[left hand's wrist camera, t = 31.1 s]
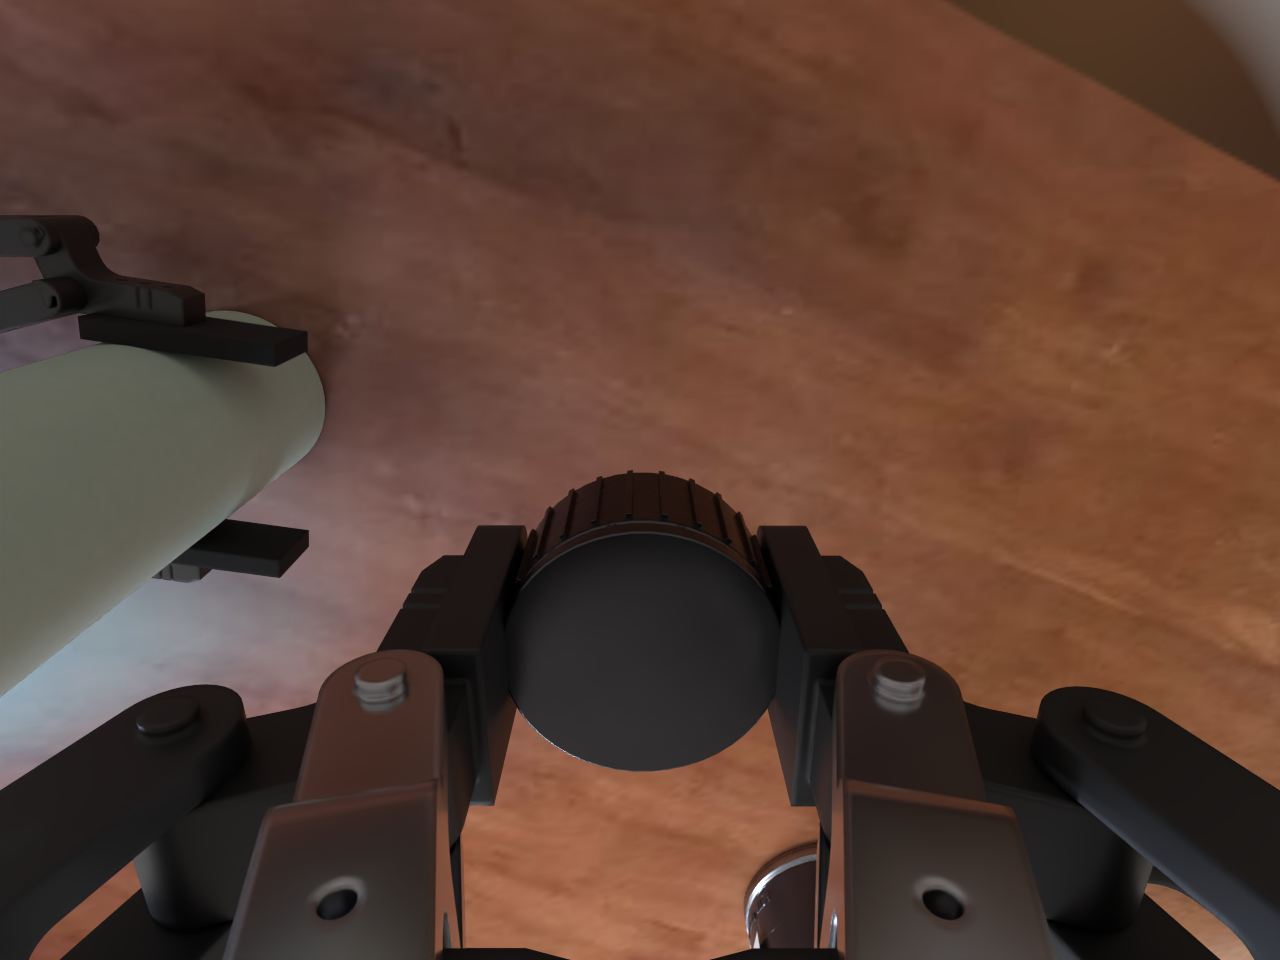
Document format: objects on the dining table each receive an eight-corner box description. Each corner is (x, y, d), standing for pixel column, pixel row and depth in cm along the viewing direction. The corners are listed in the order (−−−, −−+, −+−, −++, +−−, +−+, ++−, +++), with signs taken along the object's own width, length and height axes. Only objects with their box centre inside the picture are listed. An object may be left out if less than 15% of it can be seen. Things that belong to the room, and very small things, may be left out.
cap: (723, 432, 11) (741, 487, 9) (791, 645, 12) (820, 734, 10) (480, 512, 12) (447, 580, 10) (572, 709, 13) (560, 804, 11)
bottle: (359, 396, 34) (-228, 828, 11) (261, 503, 36) (-406, 1055, 13) (219, 273, 32) (-831, 492, 9) (124, 393, 34) (-933, 815, 11)
